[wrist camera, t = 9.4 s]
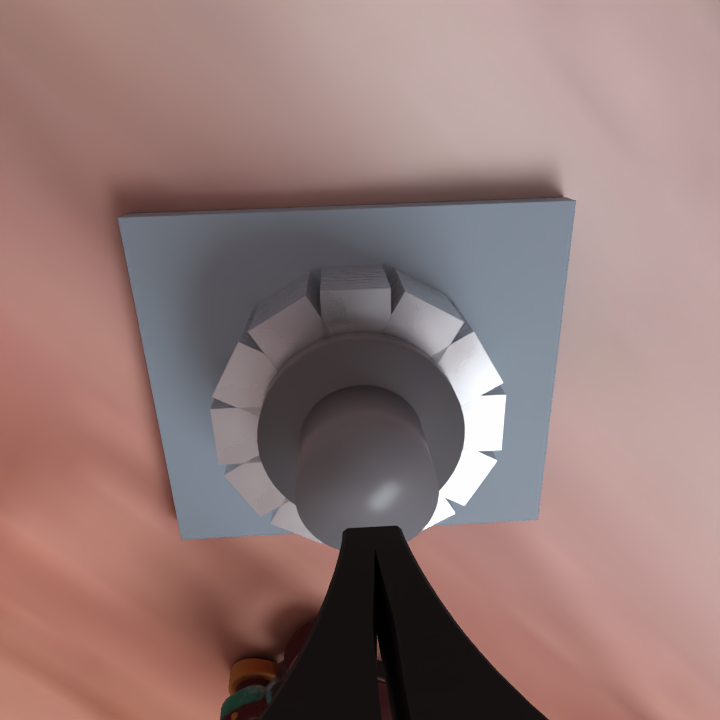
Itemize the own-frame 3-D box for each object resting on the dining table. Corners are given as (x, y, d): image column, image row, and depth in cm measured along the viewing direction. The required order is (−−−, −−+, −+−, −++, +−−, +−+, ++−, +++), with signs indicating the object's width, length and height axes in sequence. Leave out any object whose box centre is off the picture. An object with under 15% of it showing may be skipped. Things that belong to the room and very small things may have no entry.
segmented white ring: (488, 259, 20) (515, 282, 17) (474, 486, 24) (494, 536, 21) (213, 271, 20) (192, 296, 17) (244, 499, 24) (232, 551, 21)
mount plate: (565, 197, 20) (575, 200, 20) (530, 505, 26) (537, 519, 25) (127, 213, 20) (117, 217, 19) (186, 524, 25) (181, 539, 24)
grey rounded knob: (448, 303, 21) (501, 383, 14) (437, 458, 23) (478, 586, 17) (264, 305, 20) (232, 388, 14) (274, 462, 23) (252, 593, 16)
